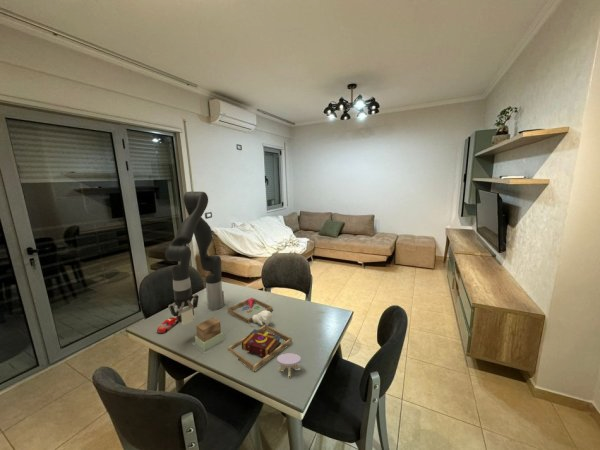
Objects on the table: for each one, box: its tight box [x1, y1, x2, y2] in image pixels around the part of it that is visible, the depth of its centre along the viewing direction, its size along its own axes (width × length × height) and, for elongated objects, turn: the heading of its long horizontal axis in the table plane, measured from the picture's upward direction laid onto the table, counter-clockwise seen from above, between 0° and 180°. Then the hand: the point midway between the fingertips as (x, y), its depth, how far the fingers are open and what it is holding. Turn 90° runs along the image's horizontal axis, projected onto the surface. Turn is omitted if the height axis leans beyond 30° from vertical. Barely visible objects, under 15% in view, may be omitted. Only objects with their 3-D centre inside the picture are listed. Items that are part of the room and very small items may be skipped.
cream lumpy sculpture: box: [251, 309, 273, 326], centre depth 134 cm, size 6×8×12 cm
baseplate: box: [191, 337, 228, 355], centre depth 118 cm, size 12×12×1 cm
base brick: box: [194, 331, 224, 351], centre depth 117 cm, size 10×8×4 cm
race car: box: [156, 315, 179, 334], centre depth 132 cm, size 13×5×4 cm, turn 166°
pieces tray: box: [227, 297, 273, 325], centre depth 148 cm, size 19×20×2 cm
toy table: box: [276, 352, 302, 378], centre depth 101 cm, size 10×9×6 cm
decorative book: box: [241, 329, 282, 358], centre depth 115 cm, size 11×16×5 cm
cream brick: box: [180, 306, 195, 326], centre depth 117 cm, size 5×5×6 cm
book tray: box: [227, 324, 293, 372], centre depth 115 cm, size 24×19×2 cm
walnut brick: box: [195, 316, 222, 342], centre depth 117 cm, size 9×6×6 cm, turn 141°
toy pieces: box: [241, 297, 261, 314], centre depth 152 cm, size 12×11×4 cm
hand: (185, 319), depth 118 cm, fingers closed on cream brick, 5 cm apart
